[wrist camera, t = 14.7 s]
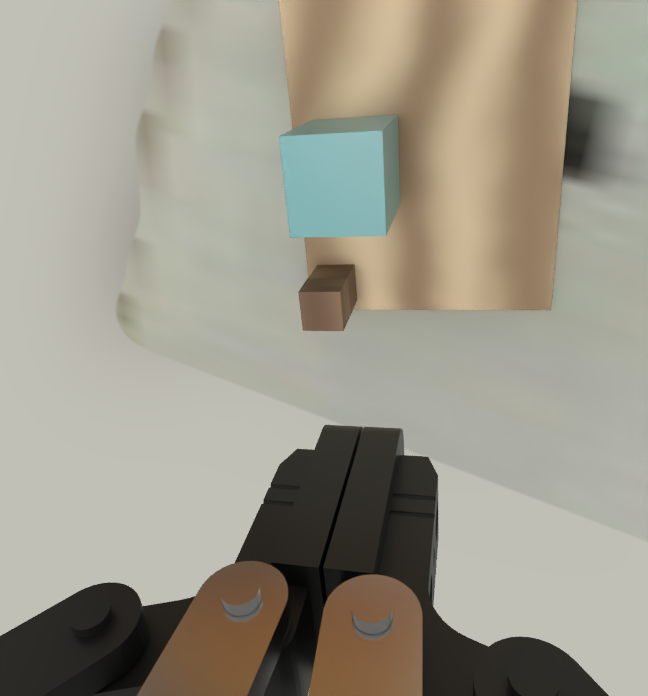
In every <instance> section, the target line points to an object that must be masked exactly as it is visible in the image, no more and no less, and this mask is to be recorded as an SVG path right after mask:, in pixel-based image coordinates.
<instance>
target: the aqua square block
mask: <svg viewBox="0 0 648 696" xmlns="http://www.w3.org/2000/svg"><path fill="white" fill-rule="evenodd" d="M279 140H280V150H281V159H282V168H283V177H284V186H285V195H286V205H287V214H288V223H289V232H290V238H295V237H361V236H386V235H387V233H388V231H389V228H390V226H391V224H392V222H393V219H394V217H395V215H396V213H397V211H398V208H399V206H400V182H399V140H398V115H386V116H370V117H354V118H338V119H322V120H310V121H308V122H306V123H304V124H302V125H300V126H298V127H296V128H294V129H293V130H291V131H289V132H287V133H285V134H283V135H281V136H279Z"/></svg>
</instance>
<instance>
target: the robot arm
mask: <svg viewBox="0 0 648 696" xmlns="http://www.w3.org/2000/svg"><path fill="white" fill-rule="evenodd" d="M437 547H438V475H437V473H436V471H435V469H434V467H433V465H432V464H431V462H430V460H429V458H428V457H422V456H405V455H404V439H403V430H402V429H397V428H378V427H364V428H363V427H356V426H336V425H335V426H334V425H325V426H324V427H323V429H322V432H321V434H320V437H319V440H318V442H317V445H316V447H315V450H307V449H297V450H296V451H295V452H293V453H292V454H291V455H290V456H289V457H288V458H287V459H286V460H284V461H283V462H282V463H281V464H280V466H279V467H278V469H277V472H276V474H275V476H274V478H273V480H272V482H271V488H269V489H268V491H267V493H266V496H265V498H264V503H263V504H262V505H261V507H260V509H259V511H258V513H257V515H256V518H255V520H254V522H253V524H252V526H251V528H250V531H249V533H248V535H247V537H246V539H245V542H244V544H243V546H242V548H241V551H240V553H239V555H238V557H237V559H236V561H235V563H234V564H231V565H228V566H226V567H224V568H222V569H220V570H218V571H217V572H215V573H214V574H213V575H211V576H210V577H209V578H208V579H207V580H206V581H205V583H204V584H203V585H202V587H201V588H200V590H199V591H198V593H197V594H196V596H194V597H191V598H188V599H183V600H179V601H172V602H167V603H161V604H154V605H148V606H142V604H141V601H140V598H139V596H138V594H137V593H136V592H135V591H134V590H133V589H132V588H130V587H129V586H127V585H124V584H120V583H102V584H97V585H93V586H90V587H88V588H85V589H83V590H81V591H79V592H77V593H75V594H74V595H72V596H70V597H68V598H66V599H65V600H63V601H61V602H59V603H58V604H56V605H54V606H52V607H51V608H49V609H47V610H45V611H44V612H42V613H40V614H38V615H37V616H35V617H33V618H31V619H30V620H28V621H26V622H24V623H22V624H21V625H19V626H17V627H16V628H14V629H12V630H10V631H9V632H7V633H5V634H3V635H1V636H0V696H608V694H607V693H606V692H605V691H604V690H603V689H602V688H601V687H600V686H599V685H598V684H597V683H596V682H595V681H594V680H593V679H592V678H591V677H590V676H589V675H588V674H587V673H586V672H585V671H584V670H583V668H582V667H580V665H579V664H578V663H577V662H576V661H575V660H574V659H572V658H571V657H570V656H569V655H568V654H567V653H565V652H564V651H562V650H561V649H560V648H557V647H556V646H554V645H552V644H550V643H548V642H545V641H542V640H539V639H535V638H530V637H511V638H506V639H502V640H500V641H497V642H495V643H494V644H492V645H491V646H489V647H488V646H486V645H483V644H481V643H479V642H477V641H474V640H472V639H470V638H467V637H466V636H463V635H462V634H460V633H458V632H457V631H455V630H453V629H452V628H451V627H450V626H448V625H447V624H446V623H445V622H444V621H443V620H442V619H441V617H440V616H439V615H438V614H437V612H436V610H435V609H434V607H433V601H434V588H435V575H436V560H437ZM309 688H310V690H309ZM308 692H309V695H308Z"/></svg>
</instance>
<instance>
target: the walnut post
mask: <svg viewBox="0 0 648 696" xmlns="http://www.w3.org/2000/svg"><path fill="white" fill-rule="evenodd" d="M299 301H300V309H301V318H302V326H303V330H307V331H344V328H345V326H346V324H347V322H348V319H349V317H350V315H351V313H352V311H353V308H354V306H355V304H356V302H357V290H356V276H355V264H338V265H317V266H316V267H315V269H314V270H313V272H312V273H311V275H310V276H309V278H308V279H307V280H306V282H305V283H304V285H303V286H302V288H301V289H300V291H299Z"/></svg>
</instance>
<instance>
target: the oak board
mask: <svg viewBox="0 0 648 696" xmlns="http://www.w3.org/2000/svg"><path fill="white" fill-rule="evenodd" d="M577 1H578V0H279V7H280V16H281V25H282V35H283V44H284V53H285V62H286V72H287V81H288V90H289V99H290V109H291V118H292V127H293V129H294V128H296V127H298V126H300V125H302V124H304V123H306V122H308V121H310V120H322V119H338V118H354V117H370V116H386V115H398V140H399V182H400V206H399V208H398V211H397V213H396V215H395V217H394V219H393V222H392V224H391V226H390V228H389V231H388V233H387V235H386V236H361V237H304V238H305V247H306V257H307V266H308V275H309V276H310V275H311V273H312V272H313V270H314V269H315V267H316V266H317V265H338V264H355V276H356V290H357V302H356V304H355V306H354V308H353V309H401V310H551V303H552V292H553V280H554V268H555V257H556V245H557V233H558V222H559V210H560V198H561V187H562V175H563V164H564V152H565V140H566V129H567V117H568V105H569V94H570V82H571V70H572V59H573V47H574V36H575V24H576V12H577Z"/></svg>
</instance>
